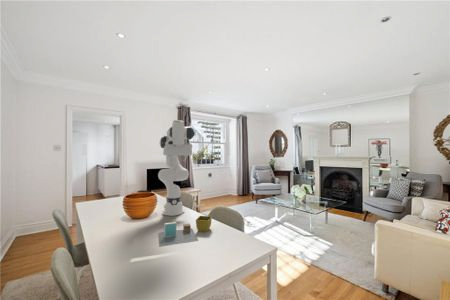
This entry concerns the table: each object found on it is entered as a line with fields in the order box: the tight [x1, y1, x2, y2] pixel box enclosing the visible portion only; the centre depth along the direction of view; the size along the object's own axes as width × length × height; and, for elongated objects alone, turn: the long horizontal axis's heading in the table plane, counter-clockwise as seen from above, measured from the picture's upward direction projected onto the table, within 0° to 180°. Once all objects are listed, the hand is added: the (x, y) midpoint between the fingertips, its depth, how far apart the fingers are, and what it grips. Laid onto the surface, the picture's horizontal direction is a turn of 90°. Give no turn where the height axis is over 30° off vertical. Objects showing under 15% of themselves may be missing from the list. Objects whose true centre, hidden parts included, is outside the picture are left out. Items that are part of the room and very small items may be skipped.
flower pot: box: [195, 215, 213, 233], centre depth 132 cm, size 9×9×9 cm
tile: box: [163, 221, 177, 237], centre depth 122 cm, size 2×7×8 cm, turn 110°
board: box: [157, 228, 199, 247], centre depth 121 cm, size 20×22×1 cm
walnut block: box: [182, 222, 191, 232], centre depth 130 cm, size 4×4×4 cm
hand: (177, 161), depth 142 cm, fingers open, 8 cm apart
